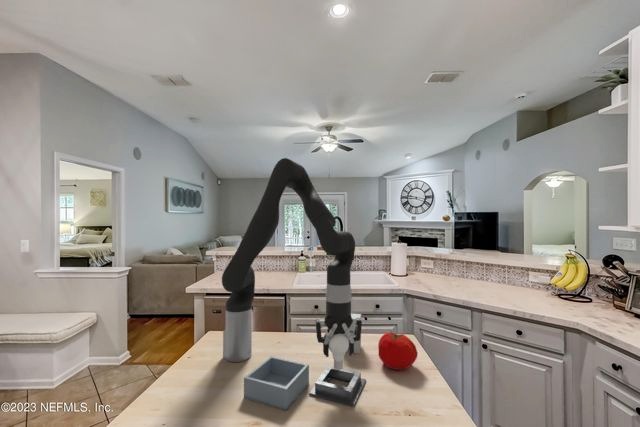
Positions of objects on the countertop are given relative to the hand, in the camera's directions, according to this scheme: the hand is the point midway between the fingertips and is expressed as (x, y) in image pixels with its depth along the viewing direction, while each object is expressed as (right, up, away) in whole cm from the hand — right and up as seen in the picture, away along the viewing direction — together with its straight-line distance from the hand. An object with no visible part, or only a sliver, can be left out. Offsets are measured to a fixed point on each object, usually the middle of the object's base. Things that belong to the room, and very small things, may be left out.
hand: (338, 355), depth 83 cm
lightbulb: (0, -4, 0) cm, 4 cm away
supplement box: (+7, -11, +25) cm, 28 cm away
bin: (-18, -9, -1) cm, 20 cm away
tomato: (+21, -10, +13) cm, 26 cm away
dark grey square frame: (0, -10, 0) cm, 10 cm away
